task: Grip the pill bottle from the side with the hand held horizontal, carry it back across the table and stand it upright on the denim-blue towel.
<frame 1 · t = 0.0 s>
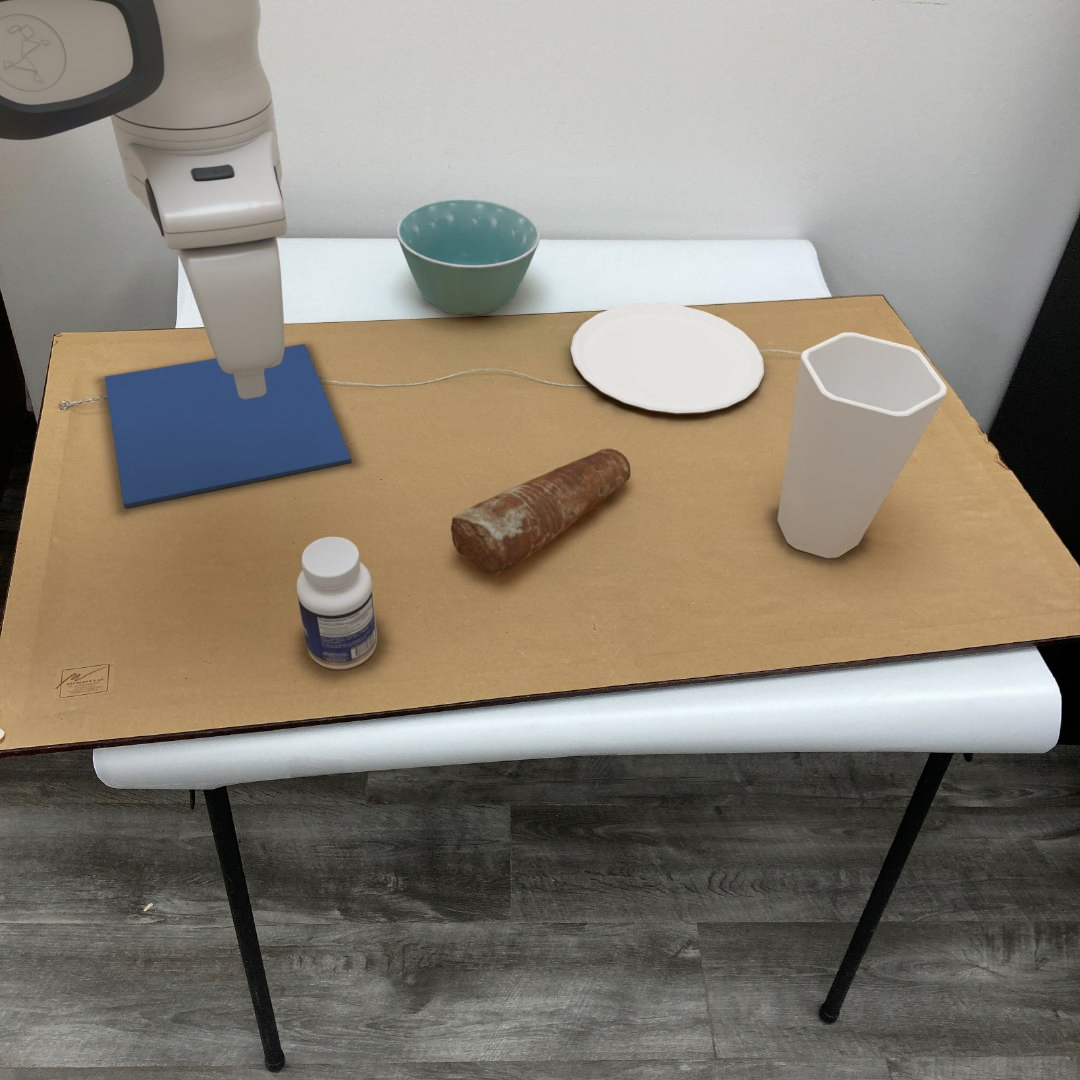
hand: (239, 352, 66), 21 cm above the table, tool pointing down, fingers open, 8 cm apart
plate: (665, 363, 106), on the table
bowl: (468, 297, 113), on the table
pill bottle: (342, 645, 76), on the table
cup: (817, 531, 88), on the table
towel: (224, 419, 94), on the table
brown rounded cylinder: (543, 522, 87), on the table
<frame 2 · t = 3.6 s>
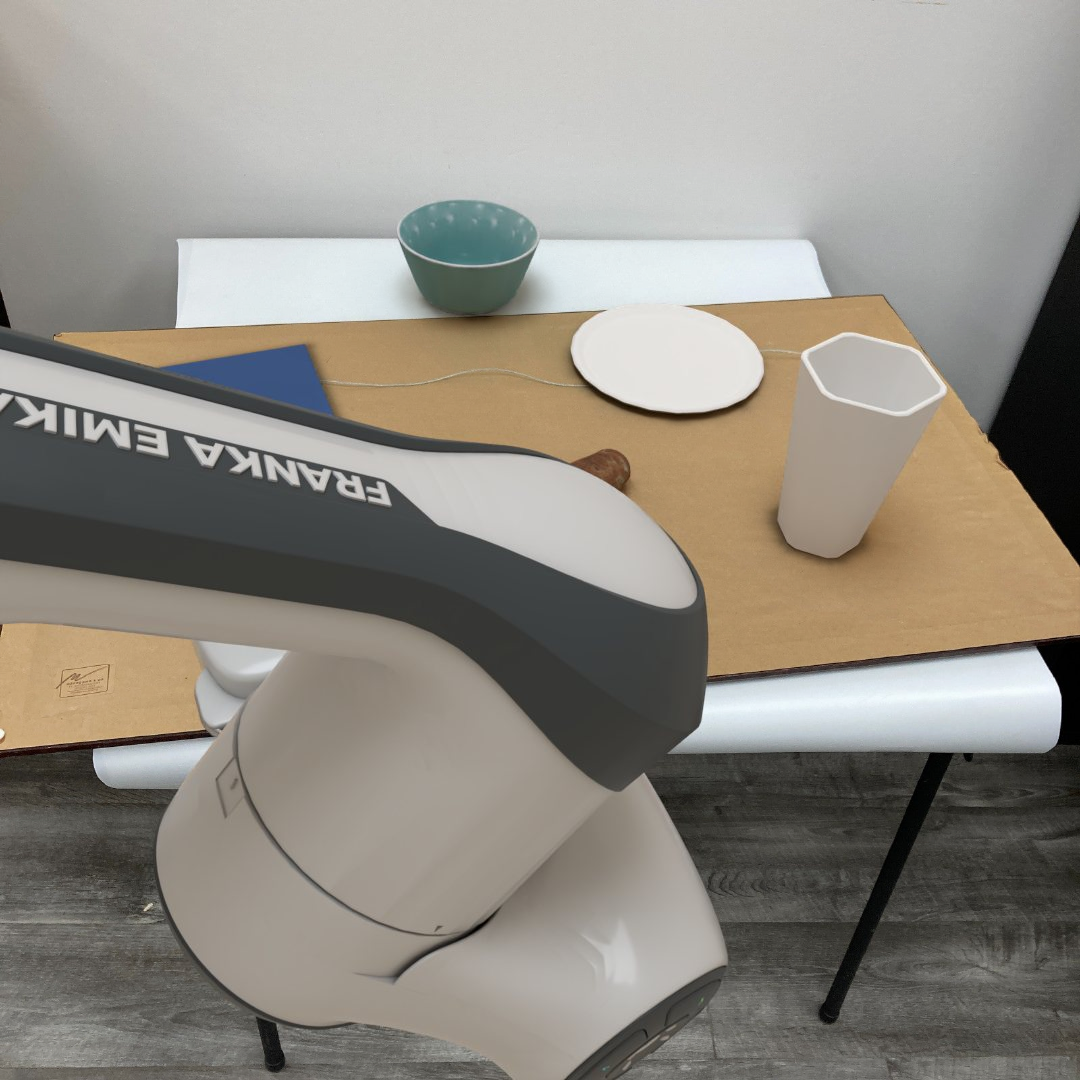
hand: (364, 480, 50), 26 cm above the table, tool horizontal, fingers open, 8 cm apart
nothing on the table moved.
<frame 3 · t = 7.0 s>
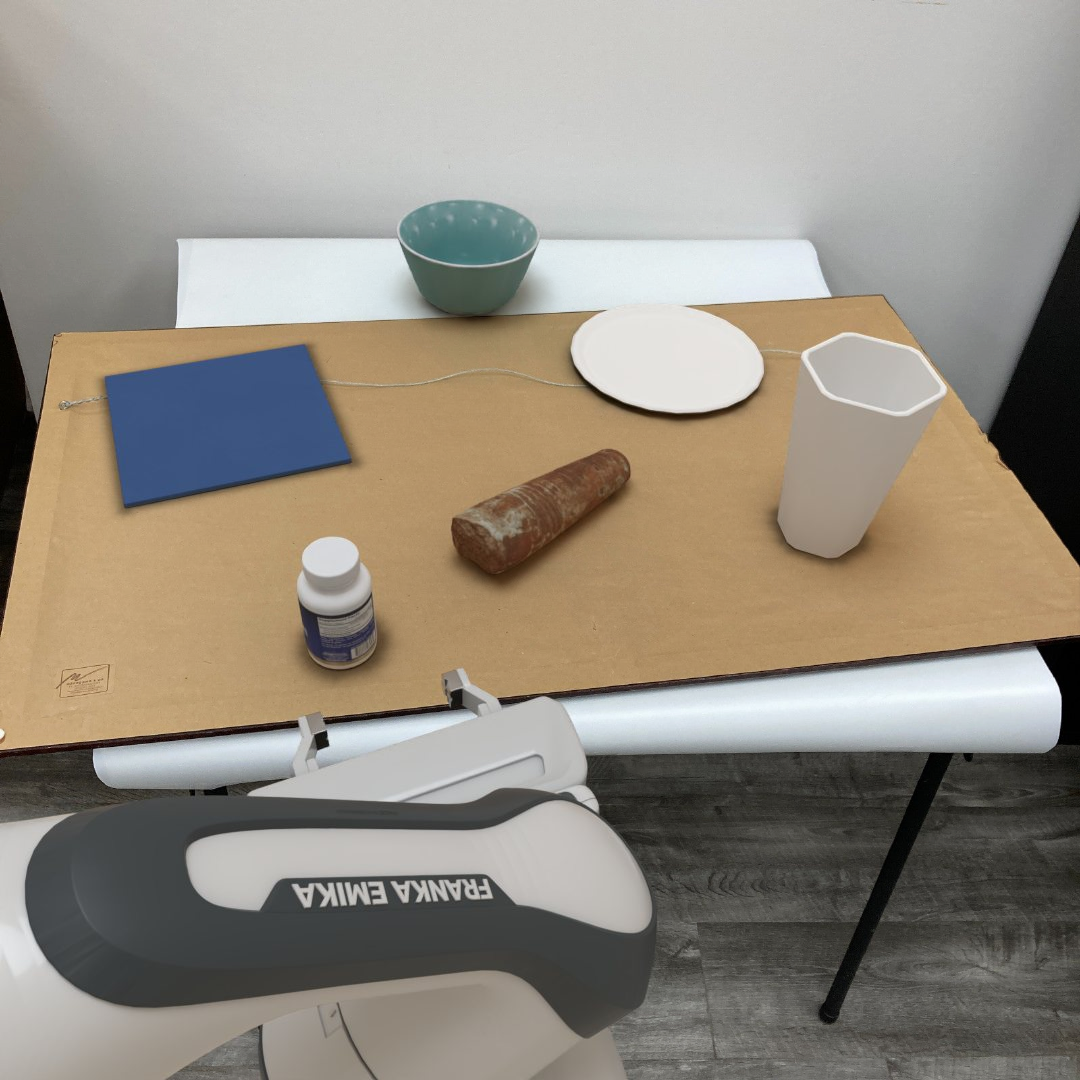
hand: (382, 697, 63), 8 cm above the table, tool horizontal, fingers open, 8 cm apart
nothing on the table moved.
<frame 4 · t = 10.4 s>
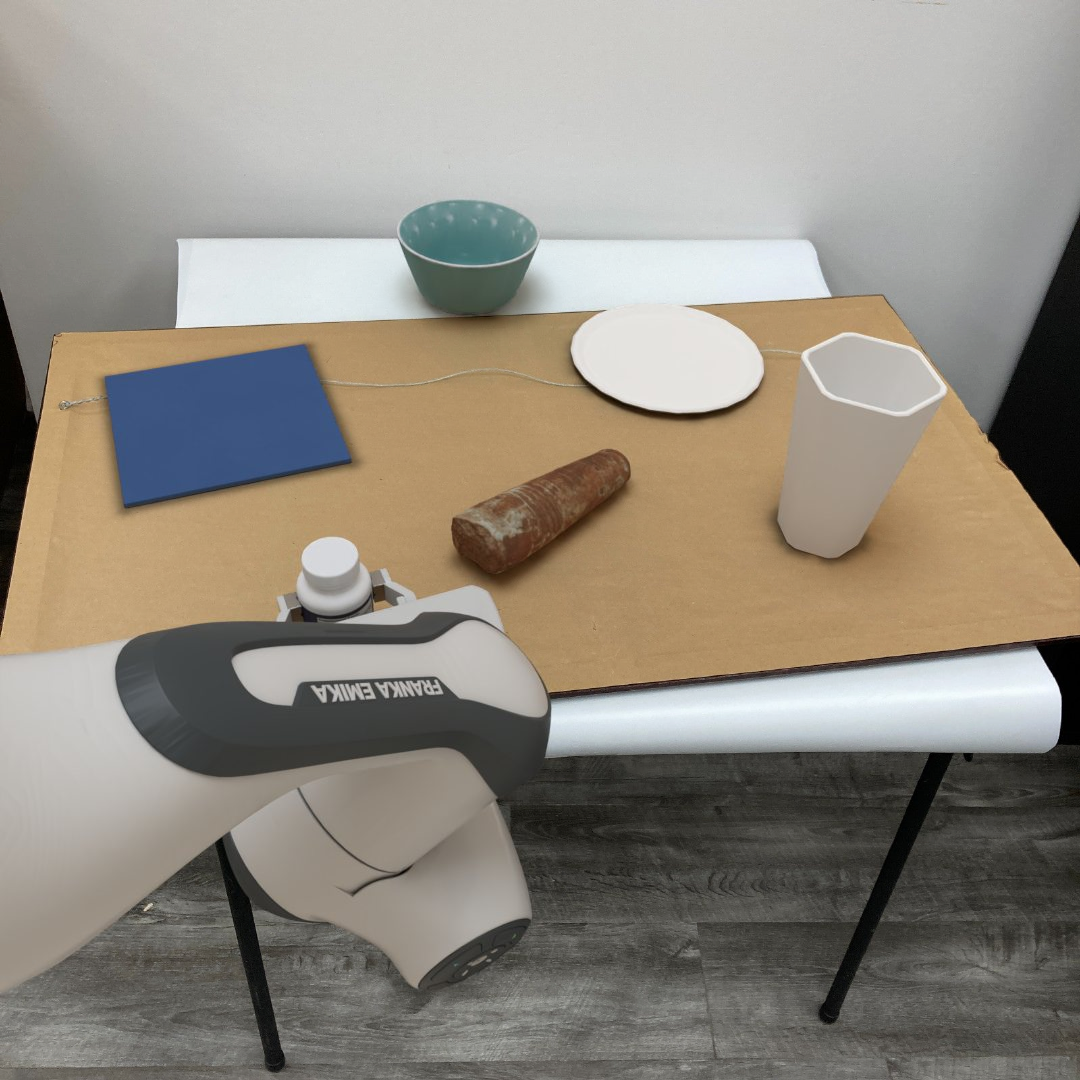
hand: (332, 587, 72), 6 cm above the table, tool horizontal, fingers closed on pill bottle, 5 cm apart
pill bottle: (342, 645, 76), on the table, touching gripper
everything else where it was.
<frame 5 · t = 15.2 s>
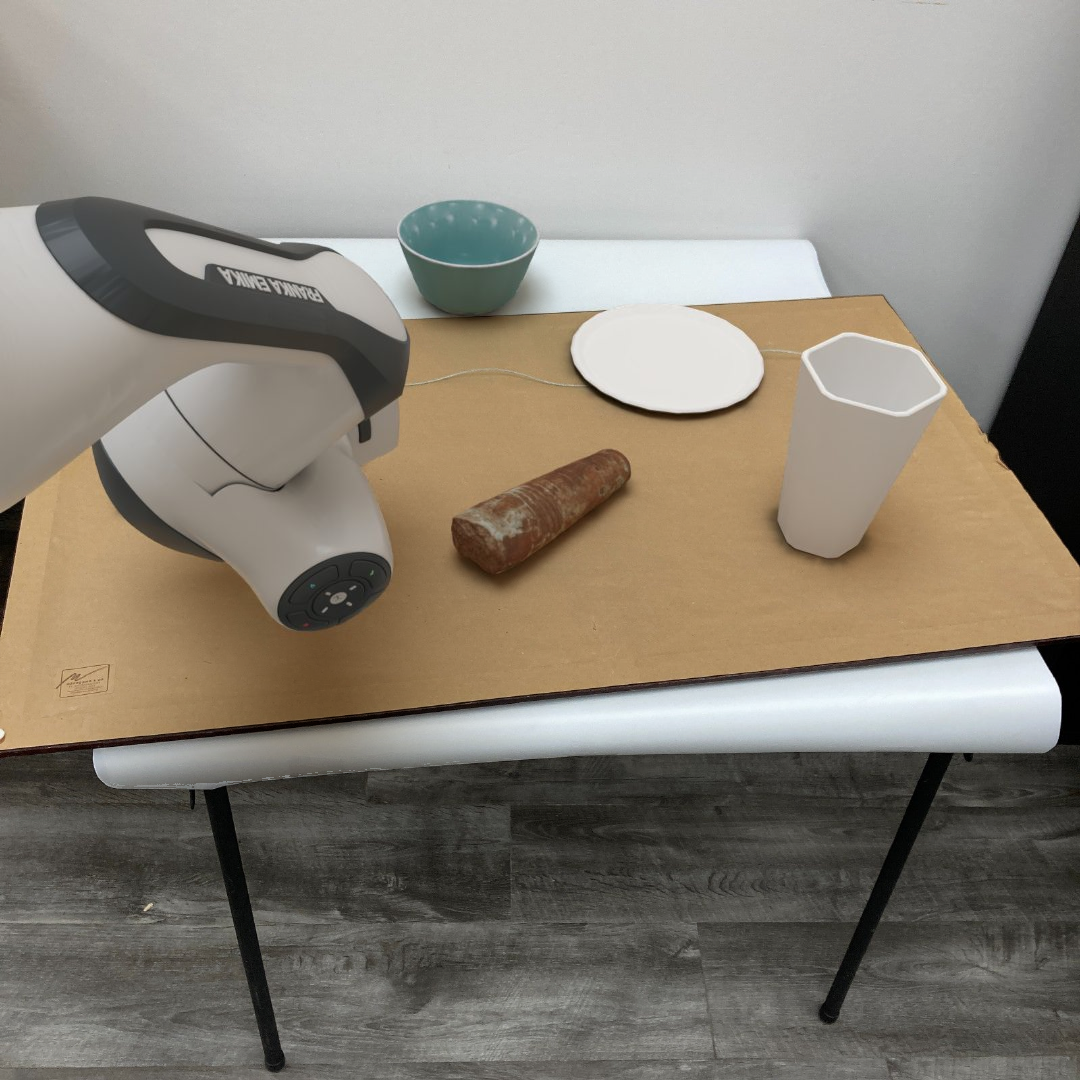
hand: (235, 332, 75), 17 cm above the table, tool horizontal, fingers closed on pill bottle, 5 cm apart
pill bottle: (249, 399, 79), point 11 cm above the table, touching gripper
everything else where it was.
when the fingers open (6 cm above the table, at t = 20.5 s): pill bottle stays where it is, resting on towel.
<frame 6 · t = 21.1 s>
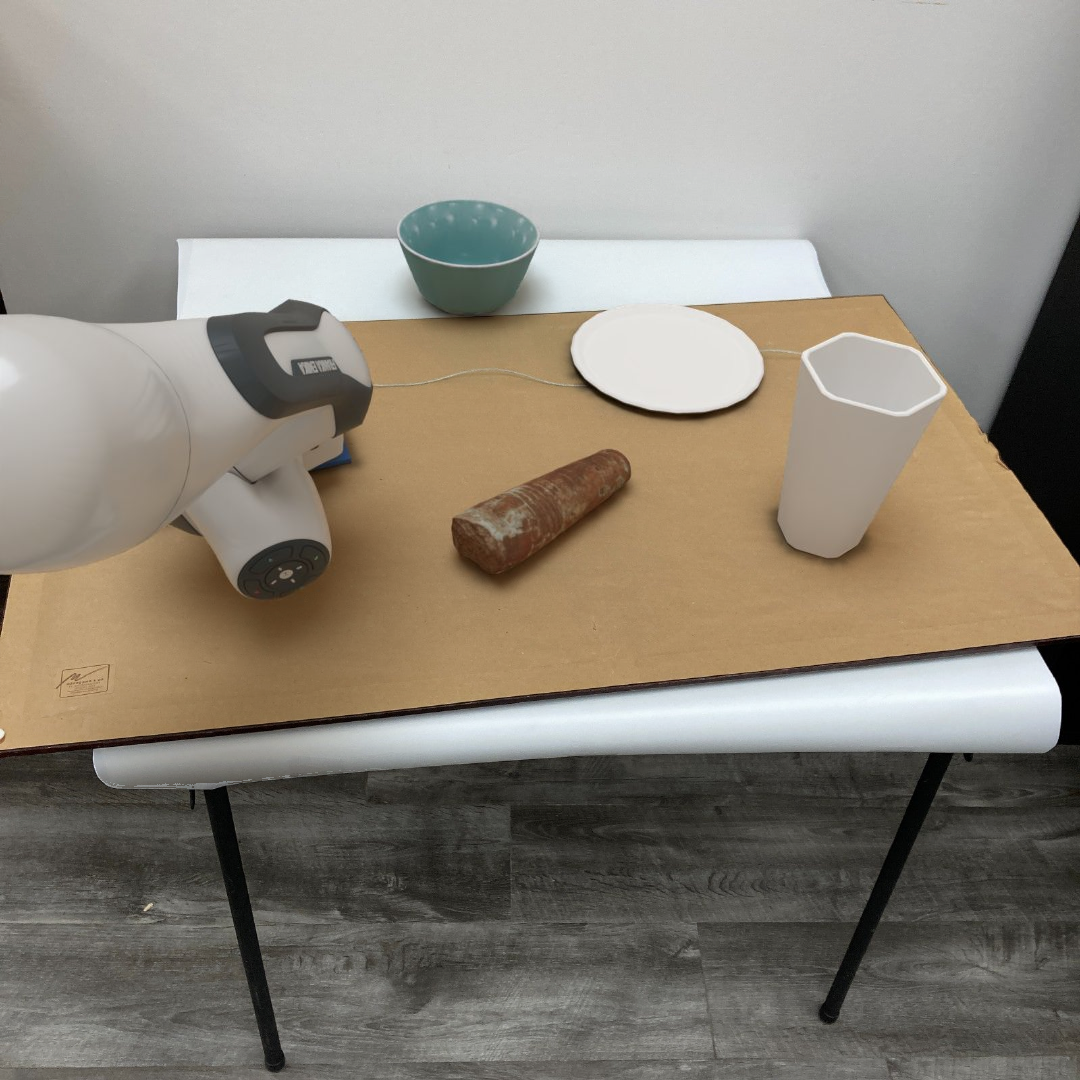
hand: (209, 357, 90), 7 cm above the table, tool horizontal, fingers open, 8 cm apart
pill bottle: (225, 418, 94), resting on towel
everything else where it was.
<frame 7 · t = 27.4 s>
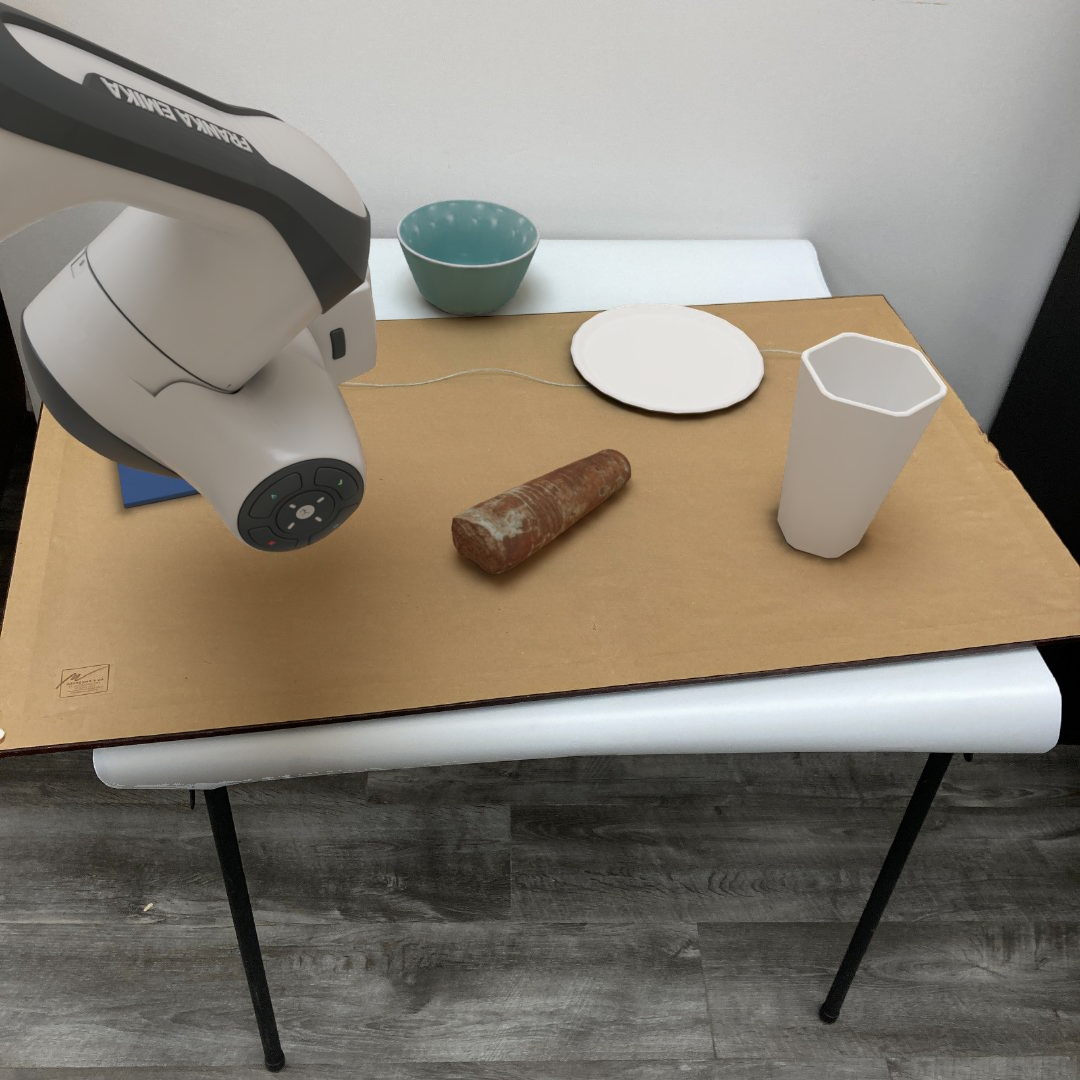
hand: (201, 249, 70), 24 cm above the table, tool horizontal, fingers open, 8 cm apart
nothing on the table moved.
at the end: pill bottle inside the target area on the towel (0.2 cm from its centre), point 0.3 cm above the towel's base; pill bottle tilted 0°; the gripper is holding nothing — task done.
